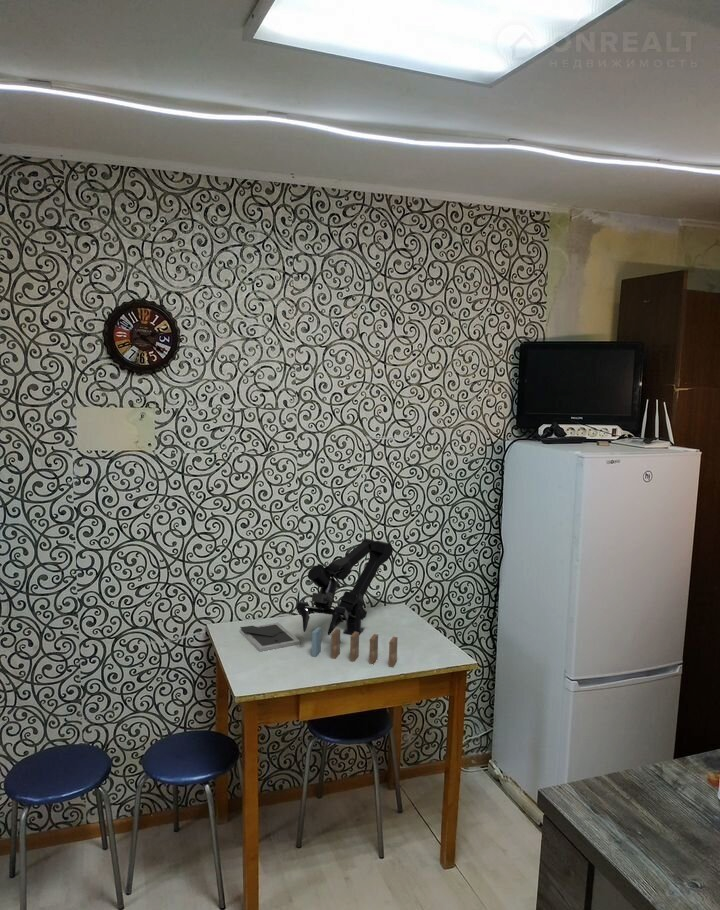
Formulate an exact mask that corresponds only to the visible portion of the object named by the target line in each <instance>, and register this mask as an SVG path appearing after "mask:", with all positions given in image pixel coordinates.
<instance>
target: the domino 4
mask: <svg viewBox="0 0 720 910" xmlns="http://www.w3.org/2000/svg"><path fill="white" fill-rule="evenodd" d="M378 652H379V634H376V633H373V635H372V636H371V637H370V638H369V653H368V654H369V655H368V657H369V665H372V664H373V666H374V665H375V664H374V663H376V662H377V661H378V657H379V656H378V655H379V653H378ZM376 660H377V661H376Z"/></svg>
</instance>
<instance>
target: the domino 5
mask: <svg viewBox="0 0 720 910" xmlns="http://www.w3.org/2000/svg"><path fill="white" fill-rule="evenodd" d="M398 639H399V638H398V636H392V638H391V639H390V641H389V643H388V646H389V648H388V649H389V651H388V668H394V667H395V666H396V664H397V662H398Z"/></svg>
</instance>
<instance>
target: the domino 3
mask: <svg viewBox="0 0 720 910" xmlns="http://www.w3.org/2000/svg"><path fill="white" fill-rule="evenodd" d="M349 643H350V646H349V647H350V649H349V651H350V652H349V662H352V663H353V662H356V660H357V659H358V658H359V656H360V655H359V653H360V649H359V648H360V635H359V632H354V633H353V634H350V641H349Z"/></svg>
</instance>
